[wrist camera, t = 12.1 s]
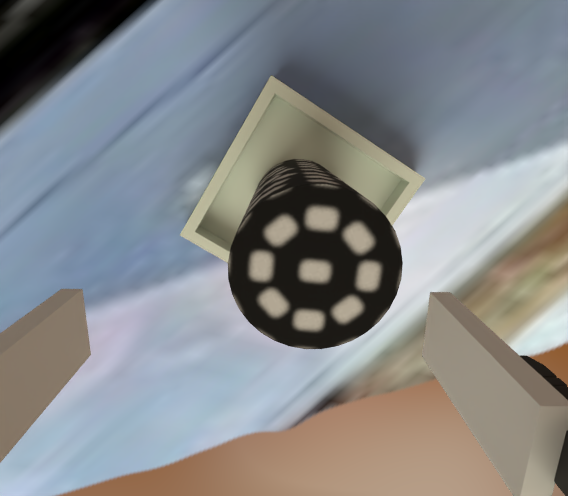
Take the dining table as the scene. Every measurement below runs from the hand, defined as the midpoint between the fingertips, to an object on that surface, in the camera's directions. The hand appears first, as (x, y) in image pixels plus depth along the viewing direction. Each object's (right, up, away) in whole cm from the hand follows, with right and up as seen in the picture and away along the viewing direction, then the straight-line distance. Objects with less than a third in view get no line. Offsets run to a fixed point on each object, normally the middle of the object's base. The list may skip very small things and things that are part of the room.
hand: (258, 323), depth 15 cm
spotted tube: (+2, +7, +23) cm, 24 cm away
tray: (+2, +7, +24) cm, 25 cm away
